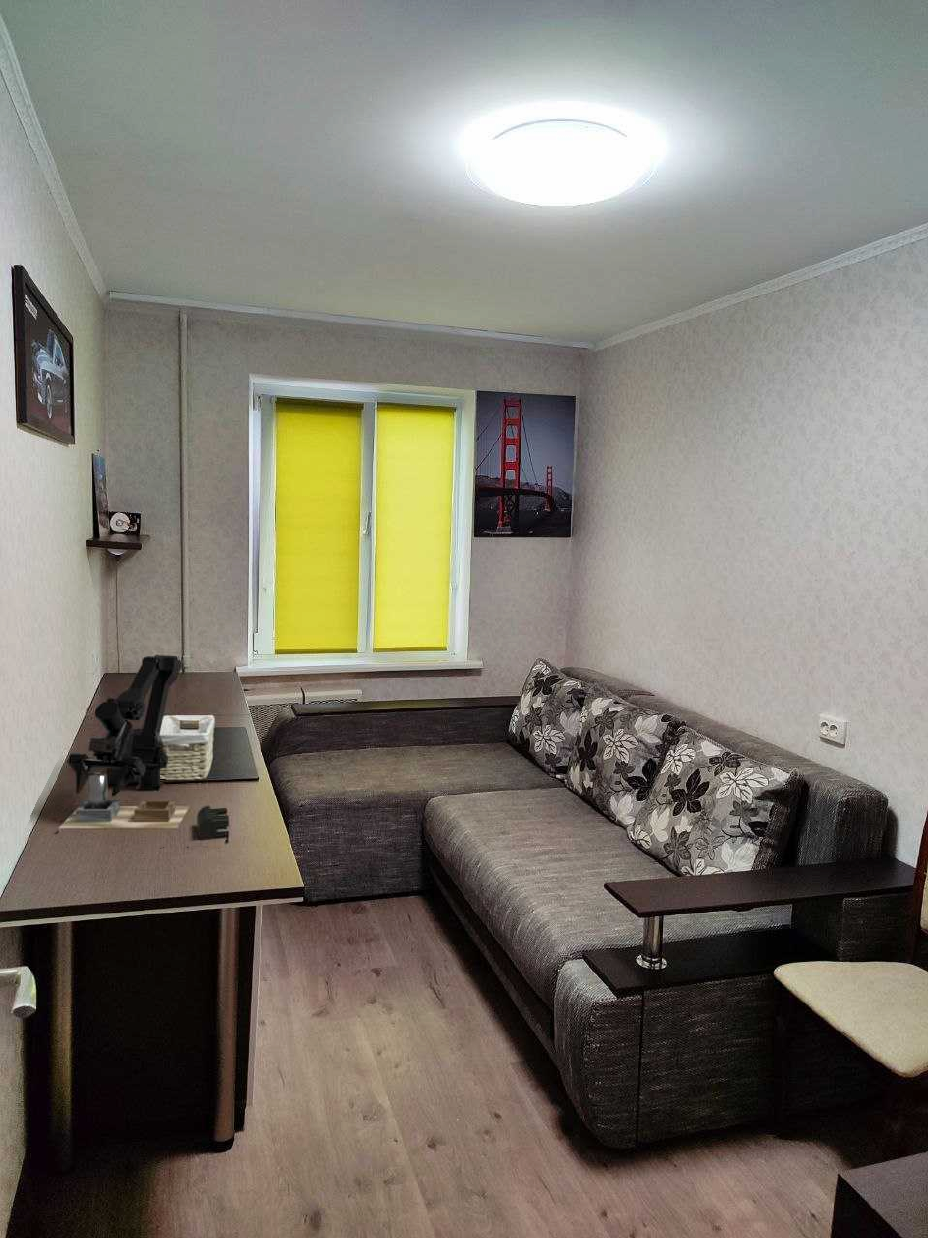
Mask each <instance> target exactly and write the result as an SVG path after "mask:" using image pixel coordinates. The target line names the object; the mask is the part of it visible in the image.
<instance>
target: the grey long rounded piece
mask: <svg viewBox="0 0 928 1238" xmlns="http://www.w3.org/2000/svg"><path fill="white" fill-rule="evenodd" d="M108 788H109V787H108V773H107V772H105V771H95V772H91V773H89V777H88V800H89V809H107V808H108V800H109V797H108V796H109V795H108V793H109V792H108Z"/></svg>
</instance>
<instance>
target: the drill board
mask: <svg viewBox="0 0 928 1238" xmlns="http://www.w3.org/2000/svg"><path fill="white" fill-rule="evenodd" d="M189 809H190V806H189V805H188V806H187V805H185V806H179V805H176V799H142V800H141V802H140V803H139V804H138V806H136V805H135V806H132V805H131V806H129V805H128V806H127V805H125V806H124V805H123V806H120V799H108V808H107V809H89V799H86V800H84V802H82V803H81V805H80V806H78V807H77V808H76V809H75V810H74V811H73V813H71V814H70V816H69V817H68V818H67V819H65V821H64V822H63V823H62V824H61V825H60V826H59V827H58V833H60V832H61V831H62V830H63V829H142V828H143V829H177V828H178V827H179V826H180V824H181V822H182V820H183V818H185V817H184V816H185V815H186V814H187V812H188V811H189Z"/></svg>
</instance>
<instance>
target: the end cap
mask: <svg viewBox="0 0 928 1238" xmlns="http://www.w3.org/2000/svg"><path fill="white" fill-rule="evenodd" d="M196 823H197V832H198V836H199V838H200V840H201V841H208V840H209V841H210V840H212V839H222V838H223V839H224V838H225V841H224V844H229V842H230V841H229V837H230V833H229V830H227V829H228V827H230V817H229V815H228V808H227V807H222V808H220V807H218V808H211V806H210V805H205V806H203V807H202V808H200V809H199V811H198V812H197V816H196ZM218 830H223V831H218Z"/></svg>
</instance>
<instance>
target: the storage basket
mask: <svg viewBox="0 0 928 1238" xmlns="http://www.w3.org/2000/svg"><path fill="white" fill-rule="evenodd" d="M215 721H216V720H215V716H214V715H212V714H207V715H206V714H205V715H204V714H202V715H201V714H195V715H194V714H187V715H186V714H185V715H184V714H182V715H181V714H175V715H167V714H166V715H163V720H162V725H161V730H160V737H161V740H162V742H163V750H164V752H165V754H166V755H167V757H168V762H167V767H165V768H161V769H160V779H166V780H165V781H189V780H190V781H192V780H195V779H199V780H205V779H207V777H208V774H209V773H210V770H211V767H212V763H213V758H214V756H213V755H214V754H213V748H214V743H213V742H214V733H215V732H214V730H215ZM181 724H182V725H183V724H184V725H185V724H186V725H187V724H188V725H189V724H190V725H195V724H196V725H197V724H198V729H182V728H180V727H181Z"/></svg>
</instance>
